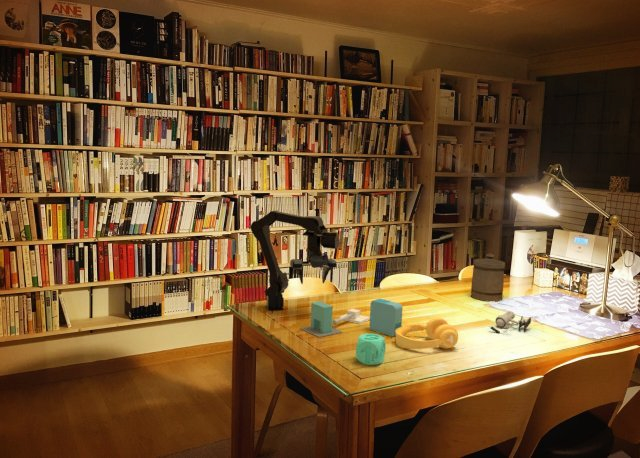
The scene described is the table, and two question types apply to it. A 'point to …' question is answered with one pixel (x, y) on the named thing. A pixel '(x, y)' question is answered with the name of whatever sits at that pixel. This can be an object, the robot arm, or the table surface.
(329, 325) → the teal arch block
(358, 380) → the table surface
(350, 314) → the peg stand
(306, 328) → the grey mat
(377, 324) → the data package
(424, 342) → the headset
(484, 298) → the wooden container
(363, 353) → the decorative dice
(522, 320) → the clip-on lamp
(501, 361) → the table surface
